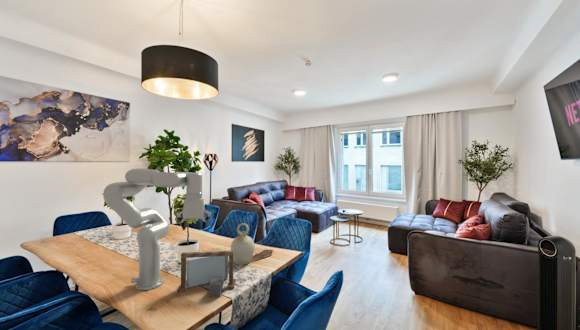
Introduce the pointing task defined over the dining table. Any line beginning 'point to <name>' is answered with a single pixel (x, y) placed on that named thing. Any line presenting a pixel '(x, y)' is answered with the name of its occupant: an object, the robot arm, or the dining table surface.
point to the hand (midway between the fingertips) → (194, 229)
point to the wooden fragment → (261, 255)
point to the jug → (242, 247)
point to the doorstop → (216, 287)
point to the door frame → (205, 254)
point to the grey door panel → (206, 270)
